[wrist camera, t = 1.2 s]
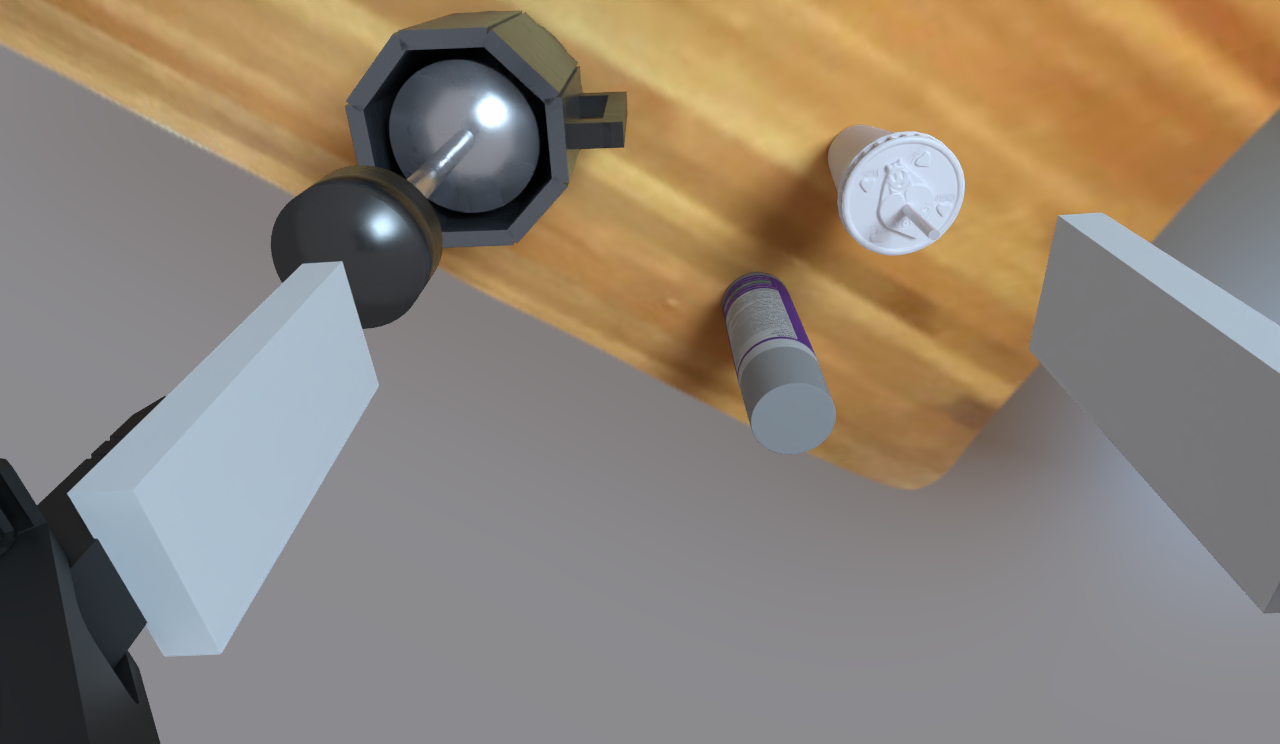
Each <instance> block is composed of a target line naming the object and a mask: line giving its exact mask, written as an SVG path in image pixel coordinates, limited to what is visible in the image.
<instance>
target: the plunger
mask: <svg viewBox="0 0 1280 744" xmlns="http://www.w3.org/2000/svg"><path fill="white" fill-rule="evenodd" d="M389 134H390V142H391V146H392V150H393V153H394V156H395V159H396V161H397V163H398V165H399V167H400V169H401V171H402V172H403V174H404V175H405V177H406V178H407V180H406V179H405V178H403V177H401V176H399V175H398V174H396V173H393V172H391V171H389V170H386V169H383V168H379V167H374V166H366V165H357V166H349V167H345V168H341V169H338V170H336V171H333V172H332V173H330V174H328V175H327V176H325V177H324V178H322V179H321V180H319V181H318V182H316V183H315V184H314V185H312V186H311V187H309V188H308V189H306V190H305V191H304V192H302V193H301V194H299V195H298V196H296V197H295V198H294V199H292V200H291V201H290V202H289V203H288V204H287V205H286V206H285V207H284V209H283V210H282V211H281V212H280V214H279V216H278V217H277V219H276V222H275V224H274V227H273V231H272V236H271V252H272V258H273V262H274V266H275V268H276V271H277V274H278V276H279V278H280V280H281V282H282V283H283V282H284V281H285V280H286V279H287V278H288V277H289V276H290V275H291V274H292V273H294V272H295V271H296V270H297V269H298V268H299V267H300V266H301V265H302V264H307V263H323V262H338V261H342V262H343V265H344V269H345V272H346V276H347V279H348V282H349V286H350V289H351V293H352V296H353V299H354V303H355V306H356V310H357V313H358V316H359V320H360V323H361V327H362V329H366V328H375V327H379V326H383V325H386V324H389V323H391V322H393V321H395V320H397V319H398V318H400V317H401V316H402V315H404V314H405V313H406V312H407V311H408V310H409V309H410V308H411V306H412V305H413V303H414V302H415V301H416V299H417V298H418V296H419V295H420V293H421V292H422V290H423V289H424V287H425V286H426V284H427V283H428V281H429V280H430V278H431V276H432V275H433V274H434V272H435V270H436V268H437V266H438V264H439V261H440V258H441V254H442V246H443V239H442V231H441V227H440V223H439V220H438V217H437V215H436V213H435V211H434V209H433V207H432V205H431V204H430V203H429V201H428V200H427V199H429V200H431V201H433V202H434V203H436V204H438V205H440V206H443V207H445V208H448V209H451V210H455V211H459V212H466V213H478V212H486V211H490V210H494V209H496V208H499V207H502V206H503V205H505V204H507V203H509V202H510V201H512V200H513V199H514V198H516V197H517V196H518V195H519V194H520V193H521V192H522V191H523V189H524V188H525V187H526V185H527V184H528V183H529V181H530V179H531V177H532V175H533V173H534V171H535V169H536V166H537V164H538V160H539V156H540V148H541V133H540V127H539V122H538V119H537V115H536V113H535V110H534V108H533V106H532V104H531V102H530V100H529V99H528V97H527V95H526V94H525V93H524V91H523V90H522V89H521V87H520V86H519V85H518V84H517V83H516V82H515V81H514V80H513V79H512V78H510V77H509V76H508V75H507V74H505V73H504V72H502V71H501V70H499V69H498V68H496V67H494V66H492V65H489V64H487V63H484V62H481V61H478V60H473V59H467V58H452V59H445V60H441V61H438V62H435V63H433V64H431V65H428V66H426V67H424V68H423V69H421V70H420V71H418V72H416V73H415V74H414V75H413V76H412V77H410V78H409V79H408V80H407V81H406V83H405V84H404V85H403V86H402V88H401V89H400V91H399V92H398V94H397V96H396V98H395V101H394V103H393V106H392V110H391V114H390V122H389Z"/></svg>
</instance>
